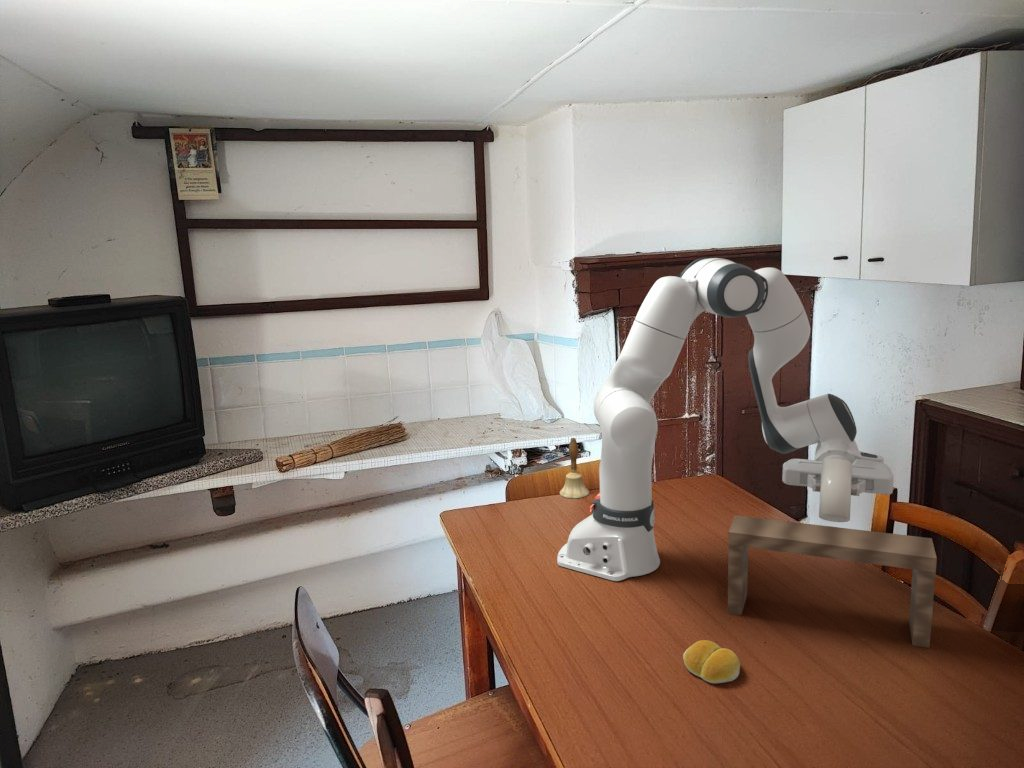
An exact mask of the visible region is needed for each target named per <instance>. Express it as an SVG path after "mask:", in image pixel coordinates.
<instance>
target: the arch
mask: <svg viewBox="0 0 1024 768" xmlns="http://www.w3.org/2000/svg"><path fill="white" fill-rule="evenodd" d="M749 548H751V549H752V548H753V549H759V550H767V551H775V552H780V553H789V554H795V555H805V556H811V557H820V558H827V559H832V560H833V559H834V560H840V561H841V560H842V561H848V562H855V563H856V562H857V563H863V564H871V565H879V566H885V567H894V568H901V569H909V570H912V577H911V592H910V604H909V616H908V617H909V619H908V623H909V629H910V637H911V644H912V646H915V647H921V648H927V649H930V646H931V632H932V623H933V622H932V621H933V609H934V599H935V598H934V597H935V596H934V595H935V586H936V585H935V584H936V576H937V575H936V572H937V560H938V558H937V554H936V551H935V549H936V548H935V545H934V542H933V538H932V537H923V536H916V535H915V536H914V535H906V534H899V533H889V532H881V531H872V530H871V531H870V530H863V529H856V528H848V527H847V528H846V527H837V526H828V525H819V524H813V523H803V522H795V521H788V520H787V521H786V520H779V519H778V520H777V519H771V518H770V519H768V518H761V517H760V518H759V517H752V516H744V515H734V517H733V520H732V522H731V524H730V527H729V530H728V548H727V549H728V555H727V556H728V557H727V558H728V562H727V564H728V566H727V569H728V570H727V614H730V615H736V616H742V615H743V611H744V607H745V603H746V600H747V597H748V563H749V562H748V557H749V556H748V553H749V552H748V551H749Z"/></svg>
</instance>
